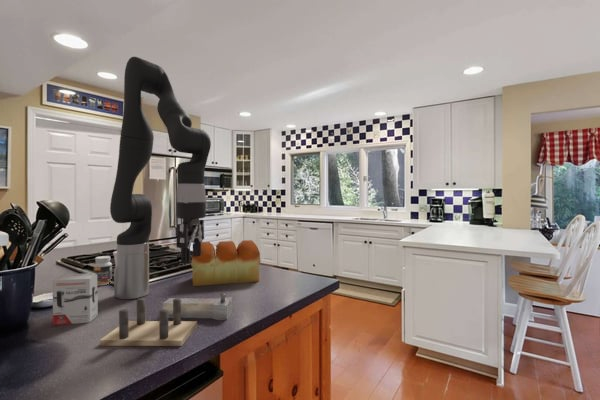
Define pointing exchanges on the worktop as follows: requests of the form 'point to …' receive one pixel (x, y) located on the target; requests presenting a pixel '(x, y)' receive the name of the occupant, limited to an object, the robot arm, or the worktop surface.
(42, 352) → the worktop surface
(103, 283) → the pill bottle
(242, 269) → the bread
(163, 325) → the rack
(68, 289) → the ink box
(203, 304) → the grey pegged bar
